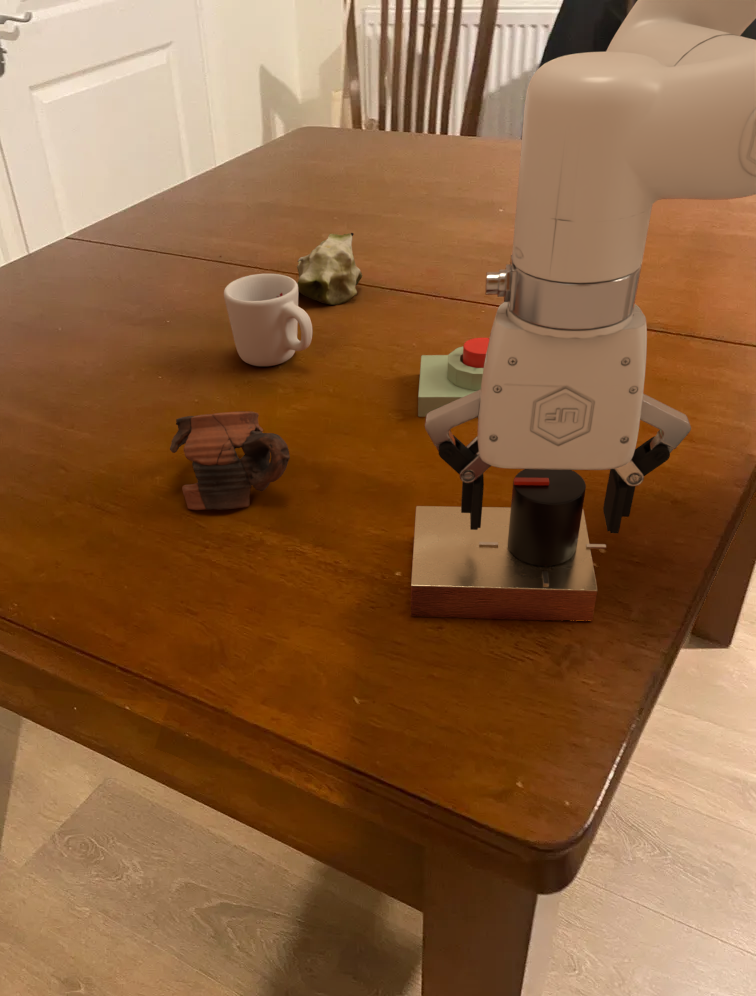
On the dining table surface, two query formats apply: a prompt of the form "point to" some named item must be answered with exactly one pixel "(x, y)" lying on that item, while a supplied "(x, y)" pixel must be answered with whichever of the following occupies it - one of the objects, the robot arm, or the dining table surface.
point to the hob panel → (493, 571)
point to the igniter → (445, 380)
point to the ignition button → (475, 352)
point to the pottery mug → (228, 458)
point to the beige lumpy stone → (329, 271)
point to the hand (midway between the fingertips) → (541, 520)
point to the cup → (266, 318)
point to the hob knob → (545, 515)
